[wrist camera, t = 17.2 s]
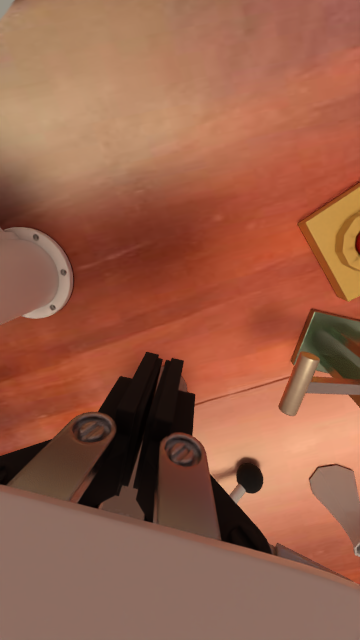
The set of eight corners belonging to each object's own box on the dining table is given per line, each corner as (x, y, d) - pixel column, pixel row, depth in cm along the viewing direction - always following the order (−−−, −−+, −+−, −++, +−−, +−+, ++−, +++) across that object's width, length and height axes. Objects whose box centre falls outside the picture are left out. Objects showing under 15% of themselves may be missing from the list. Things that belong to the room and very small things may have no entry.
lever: (272, 401, 24) (288, 419, 22) (292, 348, 22) (312, 362, 20) (376, 403, 28) (398, 419, 25) (401, 358, 26) (427, 371, 24)
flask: (312, 461, 42) (343, 527, 32) (359, 465, 41) (405, 534, 32) (305, 494, 44) (332, 565, 35) (349, 499, 44) (389, 572, 34)
